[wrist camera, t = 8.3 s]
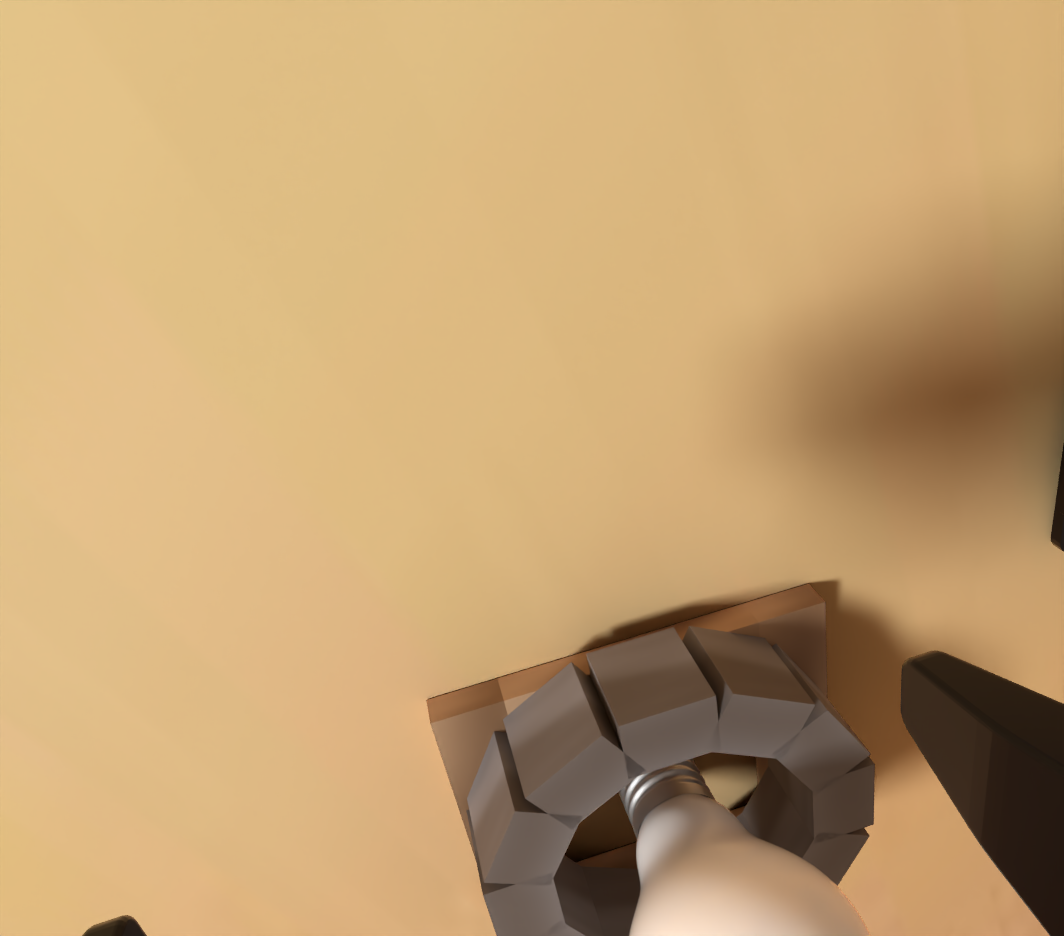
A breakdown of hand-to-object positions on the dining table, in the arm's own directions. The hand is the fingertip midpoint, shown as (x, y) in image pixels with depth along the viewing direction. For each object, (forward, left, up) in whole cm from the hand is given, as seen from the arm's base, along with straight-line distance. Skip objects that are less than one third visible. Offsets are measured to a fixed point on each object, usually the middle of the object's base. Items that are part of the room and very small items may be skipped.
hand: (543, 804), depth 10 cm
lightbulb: (-4, +15, -13) cm, 20 cm away
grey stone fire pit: (-4, +15, -13) cm, 20 cm away
